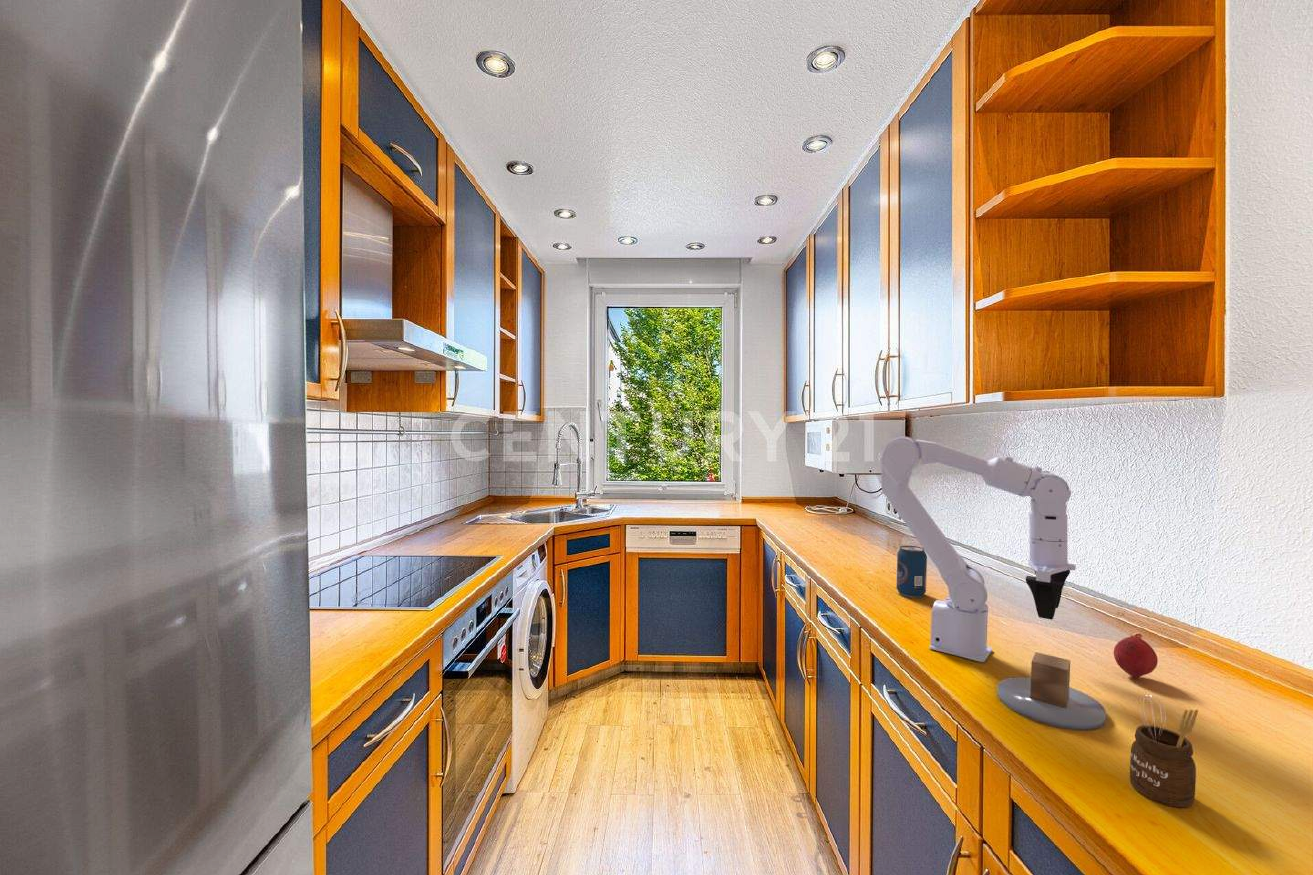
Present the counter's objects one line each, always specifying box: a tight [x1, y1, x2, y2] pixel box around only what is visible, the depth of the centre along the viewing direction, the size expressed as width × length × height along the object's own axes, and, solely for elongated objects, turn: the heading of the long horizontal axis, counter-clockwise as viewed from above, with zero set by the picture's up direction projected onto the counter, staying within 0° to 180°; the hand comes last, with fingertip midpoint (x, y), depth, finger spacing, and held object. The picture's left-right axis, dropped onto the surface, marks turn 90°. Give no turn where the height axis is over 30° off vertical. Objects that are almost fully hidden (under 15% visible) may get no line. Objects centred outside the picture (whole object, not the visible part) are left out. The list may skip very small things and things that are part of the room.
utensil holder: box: [1129, 694, 1199, 808], centre depth 68 cm, size 6×6×12 cm
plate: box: [996, 676, 1107, 731], centre depth 89 cm, size 14×14×1 cm
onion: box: [1113, 632, 1159, 679], centre depth 98 cm, size 6×6×8 cm
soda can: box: [896, 545, 928, 599], centre depth 144 cm, size 7×7×12 cm
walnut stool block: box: [1030, 651, 1071, 709], centre depth 88 cm, size 5×5×6 cm
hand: (1048, 612), depth 103 cm, fingers open, 7 cm apart
